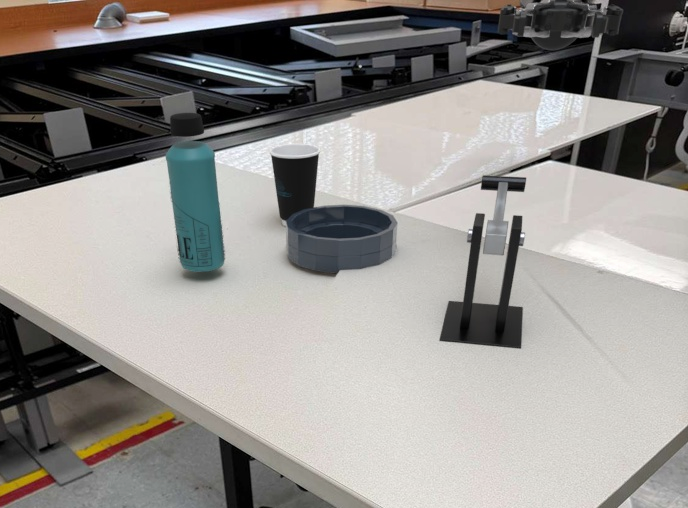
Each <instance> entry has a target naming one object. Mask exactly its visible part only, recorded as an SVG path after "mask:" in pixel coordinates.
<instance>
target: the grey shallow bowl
mask: <svg viewBox="0 0 688 508" xmlns="http://www.w3.org/2000/svg"><path fill="white" fill-rule="evenodd" d="M285 235H286V236H285V237H286V238H285V239H286V241H285V242H286V254H287V258H288V260H290V261H291V262H292V263H293V264H296V265H297V266H298V267H301V268H304V269H308V270H312V271H315V272H323V273H331V274H332V273H335V274H339V272H340V271H350V270H353V271H354V270H363V269H367V268H372V267H375V266H380V265H382V264H384V263H385V262H388V261H389V260H391V259H393V257H394V255H395V253H396V251H397V240H398V239H397V238H398V221H397V219H396V218H395V216H394V215H393V214H392V213H389V212H387V211H385V210H383V209H380V208H375V207H371V206H365V205H358V204H357V205H355V204H331V205H329V204H328V205H320V206H314V208H308V209H304V210H302V211H299V212H297V213H294V214H292V215H291V216H290V217H289V218H288V219H287V220H286V227H285Z"/></svg>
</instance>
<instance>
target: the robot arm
mask: <svg viewBox="0 0 688 508" xmlns="http://www.w3.org/2000/svg"><path fill="white" fill-rule="evenodd" d="M595 2H596V0H519V6H520V7H519V8H518V7H517V6H515V5H512V4H509V3H508V4H507V5H504V6H502V8H500V11H499V18H498V26H497V34H499V35H502V36H503V35H505V34H508V33H509V32H510V31H511V32H512V33H511V34H512V35H514V36H517V37H518V38H519V37H521V38H522V37H525V38H531V40H532V41H533V43H534V44H536V46H537V47H539V48H541V49H543V50H547V51H558V50H561V49H564V48H566V47H568V46H570V45H571V44H572V43H574V42H575V41H576V40H577V39H578V38H579V39H584V38H589V37H592V38H595V39H596V38H600V36H603V35H604V34H607V35H609V36H610V37H614V36H616V35H619V31H620V25H621V20H622V17H623V16H622V15H623V13H624V9H623V8H621V7H619V6H618V5H615V4H610V5H607V6H604V8H598V6H597V4H596V3H595Z"/></svg>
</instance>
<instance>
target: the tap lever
mask: <svg viewBox="0 0 688 508" xmlns="http://www.w3.org/2000/svg"><path fill="white" fill-rule="evenodd" d="M526 185H527V177H523V176H503V175H484V174H483V175H482V176H481V184H480V190H481V191H495V192H496V197H495V205H494V212H493V216H492V217H493V219H487V223H486V229H485V237H484V242H483V251H482V254H483V255H493V256H504V255H505V249H506V244H507V243H506V242H507V237H508V230H509V220H504V218H505V213H506V203H507V197H508V192H511V193H513V192H515V193H516V192H517V193H525V189H526Z"/></svg>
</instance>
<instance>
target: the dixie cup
mask: <svg viewBox="0 0 688 508" xmlns="http://www.w3.org/2000/svg"><path fill="white" fill-rule="evenodd" d="M268 152H269V153H268V154H269V155H270V157H271V164H272V172H273V178H274V179H273V180H274V185H275V186H274V187H275V193H276V200H277V206H278V214H279V218H280V220H281V225H282V226H283V227H285V228H286V220H287V219H288V218H289V217H290V216H291V215H292V214H294V213H297V212H299V211H302V210H304V209H308V208H314V207H315V202H316V201H315V199H316V189H317V178H318V169H319V168H318V167H319V155H320V153H321V152H322V150H321V148H320V146H317V145H314V144H308V143H287V144H286V143H285V144H279V145H276V146H273V147H270V149H269V151H268Z"/></svg>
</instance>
